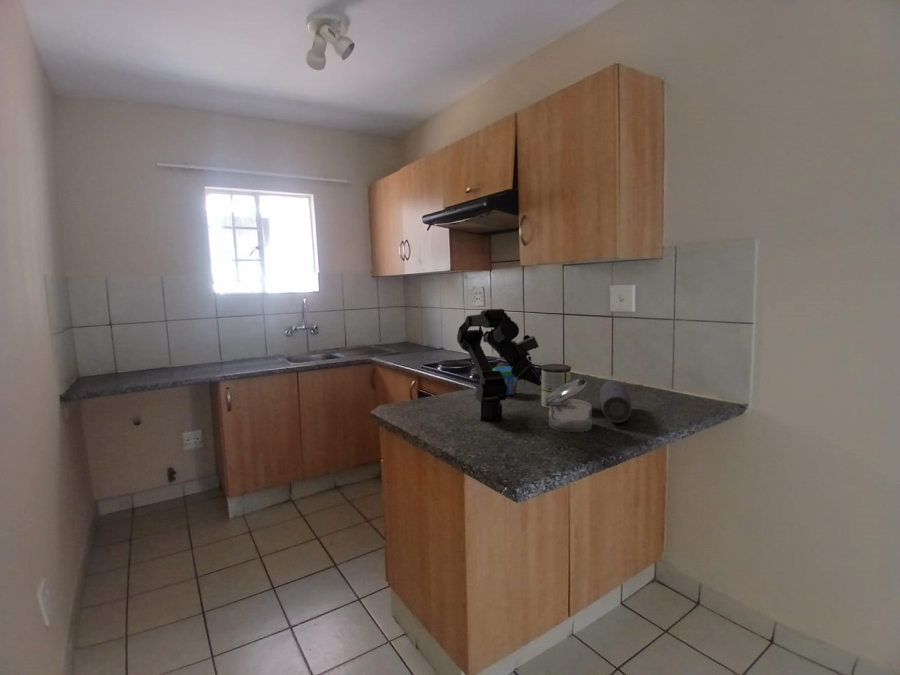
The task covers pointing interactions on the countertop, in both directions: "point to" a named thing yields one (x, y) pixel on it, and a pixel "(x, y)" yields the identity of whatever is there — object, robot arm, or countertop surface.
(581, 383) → the cooker lid
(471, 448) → the countertop surface
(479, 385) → the robot arm
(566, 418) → the grey round canister
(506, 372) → the snack cup
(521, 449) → the countertop surface
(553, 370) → the coffee can
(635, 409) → the countertop surface
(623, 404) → the bluetooth speaker
